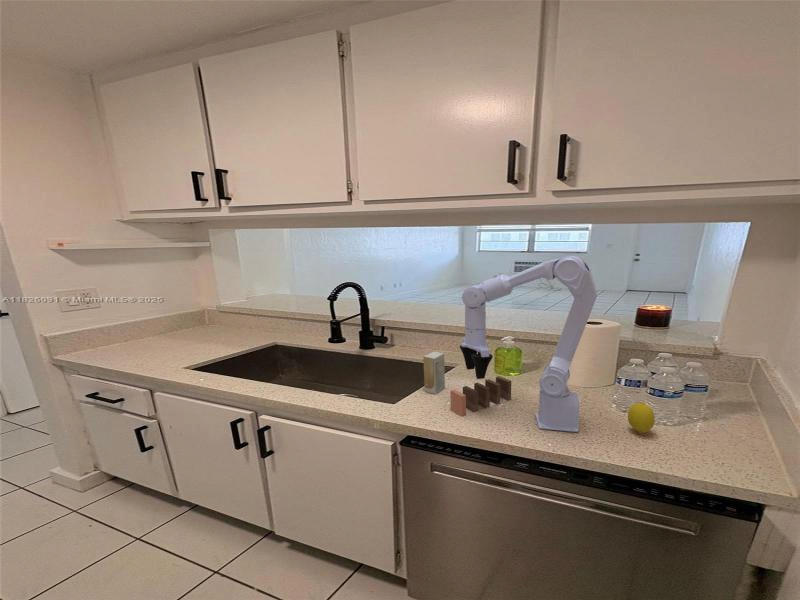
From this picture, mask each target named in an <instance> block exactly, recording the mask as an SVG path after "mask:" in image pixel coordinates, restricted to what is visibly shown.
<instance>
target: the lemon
mask: <svg viewBox="0 0 800 600" xmlns="http://www.w3.org/2000/svg"><path fill="white" fill-rule="evenodd" d="M655 418H656V417H655V413H654V410H653V408H651V407H650V405H648V404H646V403H645V402H643V401H641V402H636V403H634V404H632V405H631V406H630V407H629V409H628V411H627V420H628V424H629V426H631V428H632V429H634V430H635V431H636V432H637V433H639V434H642V433H646V432H649V431H651V430H652V428H654V425H655V420H656V419H655Z"/></svg>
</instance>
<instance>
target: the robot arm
mask: <svg viewBox="0 0 800 600" xmlns="http://www.w3.org/2000/svg"><path fill="white" fill-rule="evenodd" d="M540 279H546V280H547V279H548V280H554V279H556V280H558V281H559V282H560V283H561V284H562V285H563V286H565V287H566V288H567V289H568V291H569V292H570V293H571V295H572V297H573V301H572V304H571V307H570V309H569V312H568V315H567V317H566V320H565V323H564V325H563V328H562V331H561V333H560V336H559V339H558V342H557V344H556V346H555V350H554V353H553V355H552V358H551V360H550V362H549V363H547V365H546V366H545V367H544V371H543V372H542V375H540V377H539V381H538V384H539V394H538V397H539V398H538V399H539V400H538V412H535V418H536V423H537V427H538V429H541V430H550V431H551V430H552V431H559V432H561V431H562V432H572V433H573V432H574V433H579V430H580V429H579V422H580V420H579V419H580V400H579V394H578V393H577V392H575V391H570V389H569V387H568V386H567V385H568V382H569V380H570V376H571V373H570V367H571V364H572V361H573V359H574V357H575V354H576V352H577V349H578V346H579V343H580V341H581V339H582V336H583V333H584V330H585V328H586V326H587V323H588V321H589V319H590V315H591V313H592V310H593V308H594V306H595V303H596V300H597V297H598V290H597V288H596V284H595V281H594V279H593V275H592V271H591V267H590V266H589V265H588V264H587V262H586V261H585V260H584V258H582V257H581V256H579V255H576V254H570V255H567V256H564V257H560V258H554V259H551V260H547V261H543V262H541V263H539V264H536V265H533V266H532V267H529V268H526V269H524V270H523V271H519V272H518V273H515V274H513V275H511V276H508V275H506V274H503V273H502V274H499V273H496V274H493V275H492V278H489V279H487V280H484V281H482V280H480V281H478V282H477V283H476V284H475V285H472V286H468V287H467V288H466V289H464V291H463V292H462V295H461V299H462V303H463V304H464V336H463V337H462V341H463V342H461V344H460V345H459V349H460V351H461V354H462V355H463V359H464V362H465V367H466V370H474V371H475V377H476V379H477V380H482V379H483V380H484V379H485V378H486V375H487V370H488V366H489V364H490V362H491V361H492V360H493V358H494V357H493V355H492V354H491V353H490V349H489V348H488V345H487V342H486V340H487V339H486V334H487V333H486V331H487V330H486V329H487V327H486V325H487V323H486V318H487V317H486V316H487V315H486V303H487V302H488V303H489V302H492V301H495V300H498V299H501V298H503V297H506V296H509V295H511V293H512V292H513V290H514V288H515V287H516V288H517V287H519V286H522V285H525V284H527V283H528V284H529V283H531V282H534V281H536V280H540Z"/></svg>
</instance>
